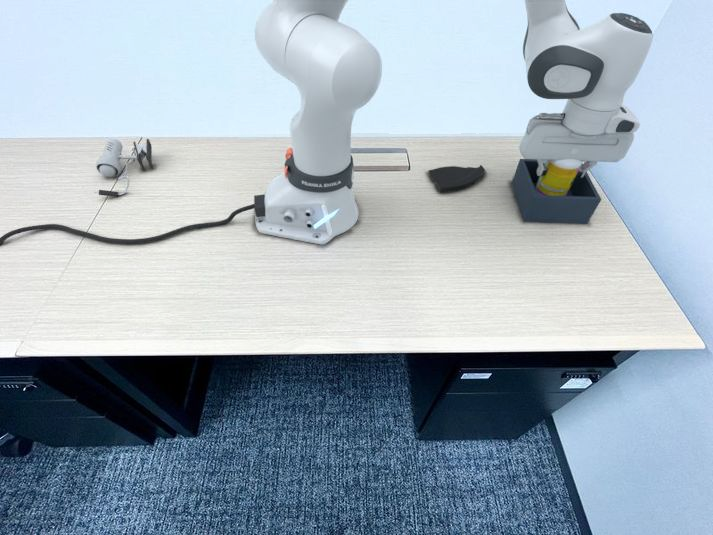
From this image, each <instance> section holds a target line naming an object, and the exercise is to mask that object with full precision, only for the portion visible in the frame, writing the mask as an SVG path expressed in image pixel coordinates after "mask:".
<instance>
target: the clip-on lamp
mask: <svg viewBox="0 0 713 535" xmlns="http://www.w3.org/2000/svg"><path fill="white" fill-rule="evenodd" d="M132 143H133V146H134V147H133V148H131V151H132V152H133V154H132V155H129V154H128V155H127V154H122V151H123V144H122V142H121V141H120V140H118V139H116V138H109V139H108V140H106V142H105V145H104V148H103V151H102V154H101V156H99V157H98V158H97V160H96V163H95V169H96V170H97V172H98V173H99V174H101V175H102V176H104V177H106V178H107V177H108V178H110V177H116V176H118V175H119V174H120V173H121V171H122V165H121V162H120V160H131V161H128V162H126V163H125V171H124V172H123V173H122V174H121V175H120V176H118V178H117V181H120V180H122V179H125V178H127V186H126V188H125V190H124V191H123V192H121V193H119V192H118V191H113V190H105V189H99V190H98V191H96V190H95V191H94V194H98V195H99V196H106V197H116V198H118V197H119V196H122V195H124V194H126V192H127V191H128V189H129V186H130V177H129V175H126V174H127V173H128V171H129V167H128V166H129V165H132V164H134V163H135V161H136V160H137V162H138V164H139V166H140V168H141V170H142V171H143V172H144V171H146V168H145V166H144V164H143V161H144V159H146V161H147V163H148V165H149V168H150V169H151V170H153V169H154V165H153V158H152V157H153V154H152V152H153V150H152V144H151V141H150V138H146V141H145V143H144V144H143V145H140V144H138V143H137V142H136V141H132Z"/></svg>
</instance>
